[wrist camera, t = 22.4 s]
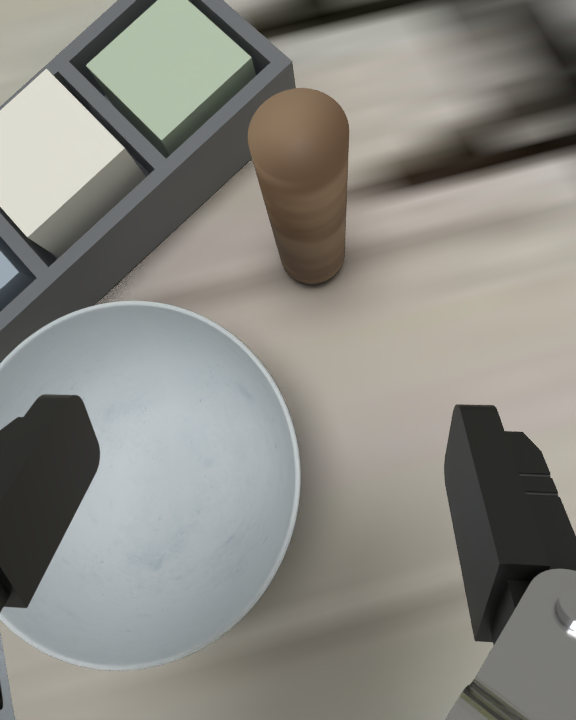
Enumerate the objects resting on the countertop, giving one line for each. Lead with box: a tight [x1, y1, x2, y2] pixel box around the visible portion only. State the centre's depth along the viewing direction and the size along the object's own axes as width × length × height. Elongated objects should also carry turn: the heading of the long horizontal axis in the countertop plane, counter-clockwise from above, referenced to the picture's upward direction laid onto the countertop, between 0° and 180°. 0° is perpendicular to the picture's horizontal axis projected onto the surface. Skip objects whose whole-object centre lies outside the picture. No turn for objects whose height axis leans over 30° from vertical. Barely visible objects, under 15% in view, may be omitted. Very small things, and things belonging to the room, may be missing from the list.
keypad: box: [0, 0, 296, 363], centre depth 30 cm, size 10×26×4 cm, turn 133°
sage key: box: [86, 0, 256, 159], centre depth 30 cm, size 6×6×4 cm
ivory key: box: [0, 69, 146, 258], centre depth 28 cm, size 6×6×4 cm
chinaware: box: [0, 301, 301, 671], centre depth 25 cm, size 15×15×8 cm
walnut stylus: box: [248, 88, 349, 284], centre depth 24 cm, size 4×4×12 cm
